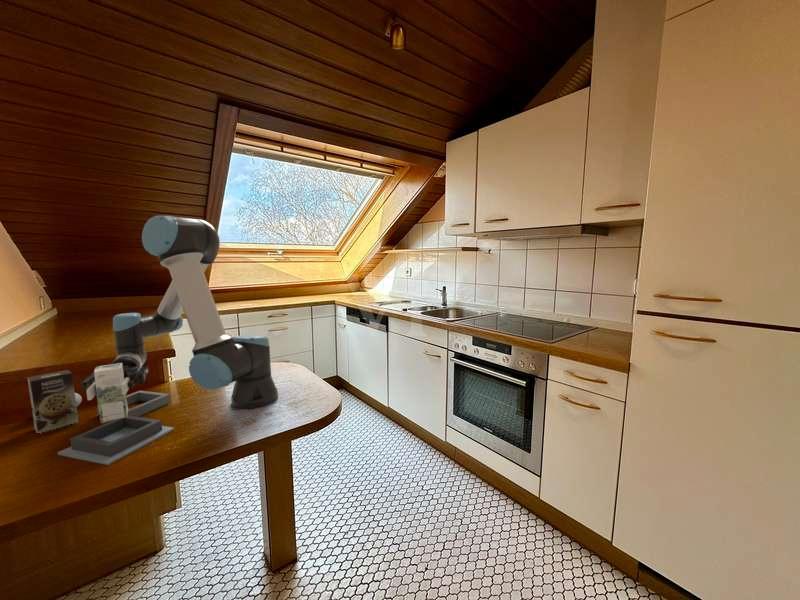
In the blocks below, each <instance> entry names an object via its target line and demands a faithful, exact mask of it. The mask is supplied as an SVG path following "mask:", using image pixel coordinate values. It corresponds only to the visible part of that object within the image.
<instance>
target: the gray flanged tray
mask: <svg viewBox="0 0 800 600" xmlns="http://www.w3.org/2000/svg"><path fill="white" fill-rule="evenodd" d="M174 430H175V427H172V426H165V425H163V424H162V419H154V418H150V417H149V418H147V417H141V416H139V417H136V416H129V415H128V416H127V418H124V419H119V420H115V421H110V422H106V423H102V424H101V425H99V426H96V427H94V428H92V429H89V430H87V431H85V432H82V433H80V434H78V435H76V436H73V437H71V438H69V439H70V446H69V447H67V448H64V449H62V450H60V451H57V456H62V457H66V458H72V459H77V460H80V461H81V460H82V461H87V462H92V463H96V464H100V465H105V466H106V465H107V466H109V465H110V464H113V463H114V462H116V461H119V460H120V459H123V458H124V457H126V456H127V455H129V454H131V453H133V452H135V451H136V450H139V449H141V448H143V447H144V446H146V445H148V444H150V443H151V442H154V441H155V440H157V439H159V438H161V437H163V436H165V435H167V434H168V433H170V432H172V431H174Z"/></svg>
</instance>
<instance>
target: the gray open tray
mask: <svg viewBox="0 0 800 600" xmlns="http://www.w3.org/2000/svg"><path fill="white" fill-rule="evenodd" d="M126 399H127V405H128V406H130V405H132V404H134V403H137V402H143V403H141V404H139V405H136V406H134V407H132V408H128V415H129V416H136V417H141V416H144V415H145V414H147V413H150V412H153V411H154V410H157V409H159V408H161V407H163V406H166V405H169V404H170V403H172V401H171V400H172V399H171V393H164V392H157V391H156V392H154V391H146V390H138V391H135V392H132V393H130V394H126ZM96 409H97V416H98V415H100V413H99V406H98V405H97V407H96Z"/></svg>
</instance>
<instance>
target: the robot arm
mask: <svg viewBox="0 0 800 600" xmlns="http://www.w3.org/2000/svg"><path fill="white" fill-rule="evenodd" d="M141 233H142V234H141V242H142V246H143V248H144V250H145V251H146V252H147V253H149V255H153V256H155V257H157V258H158V261H159V263H160V266H162V267H165V268H167V270H168V271H169V274H170V276H171V282H170V284H169V286H168V288H167V289H166V291H165V293H164V295H163V298H162V300H161V301H160V303H159V304H158V308H157V309H156V311H155V313H154V314H151V315H144V316H141V313H139V312H126V313H120V314H116V315H114V316H113V317H112V331H113V335H114V340H115V341H114V342H115V352H116V353H115V354H116V357H115V359H114V360H112V362H111V363H110V364H109V365H111V364H117V363H122V364H123V372H124V381H123V383H122V384H121V391H122V395H125V394H126V395H127V393H128V391H129V389H130V388H133V387H135V386H136V385H137V384H140V385H141V384H144V383H145V380H146V377H147V375H149V366H148V365H144V364H145V363H146V360H147V357H148V355H147V354H148V353H147V350H146V349H145V344H144V342H145V341H144V339H147V338H151V337H155V336H156V337H157V336H159V335H165V334H171V333H173V332H175V331H179V330H180V329H181V328H182V327H183V325H184V323H183V322H184V319H183V317H182V314H183V313H184V315H185V318H186V321H187V323H188V324H187V325H188V326H189V329H190V332H191V335H192V337H193V340H194V343H195V344H194V346H193V348H192V349H191V352H192V355H193V357H192V358H191V359H190V360H189V365H188V372H189V376H190V378H192V380H193V382H194V383H195V384H196V385H197V386H199V387H200V388H203V389H204V390H209V391H215V390H219V389H221V388H224V387H228V386H229V385H230V384H233V383H234V385H233V389H232V394H231V398H230V400H231V403H230V404H231V406H232V407H234V408H236V409H240V410H241V409H242V410H243V409H244V410H246V409H256V408H260V407H264V406H267V405H270V404H272V403H273V402H275V401H277V399H278V398H277V397H279V394H278V393H279V392H278V388H277V387H276V385H275V382H274V379H273V377H272V366H271V354H270V353H271V352H270V348H271V345H270V341H269V338H268V337H267V336H266V335H258V334H247V335H246V334H244V335H243V334H242V335H236V336H231V335H229V334H227V333H226V330H225V328H224V325H223V323H222V319H221V317H220V314H219V311H218V308H217V306H216V302H215V300H214V297H213V295H212V291H211V289H210V287H209V283H208V280H207V278H206V275H205V272H206V270H207V268H208V266H210V265H213V263H214V262H215V260H216V258H217V256H218V254H219V250H220V243H221V242H220V235H219V233H218V231H217V230H216V229H215V227H214V226H213V225H212V224H210V223H209V222H207V221H206V220H204V219H200V218H190V217H189V218H188V217H182V216H181V217H180V216H172V215H154V216H152V217H151V218H149V219H148V220H147V221H146V223H145V224H144V226H143V229H142V232H141ZM143 365H144V366H143ZM80 386H81V391H82V393H85V394H86V398H87V401H92V400H93V399H94V397H96V396H97V391H96V384H95V377H94V371H93V372H91V373H90V375H89V376H88V377H87V378H85V380H83V381H82V382H80ZM276 398H277V399H276ZM274 400H275V401H274ZM271 402H272V403H271Z"/></svg>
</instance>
